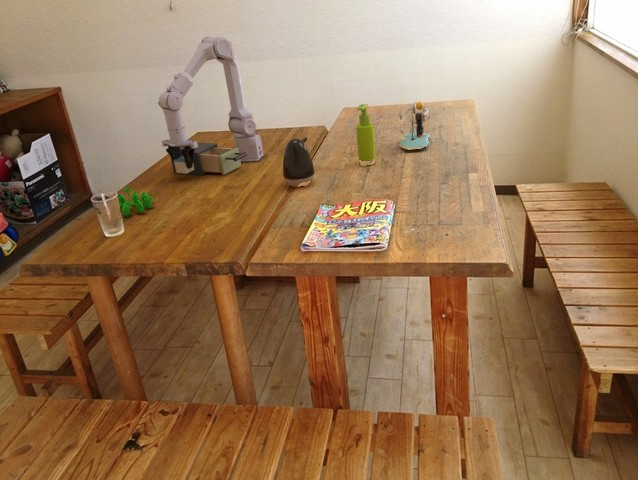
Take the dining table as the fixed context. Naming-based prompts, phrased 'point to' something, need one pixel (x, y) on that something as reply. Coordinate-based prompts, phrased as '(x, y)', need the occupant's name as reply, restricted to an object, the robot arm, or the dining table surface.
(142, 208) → the green lumpy piece
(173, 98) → the robot arm
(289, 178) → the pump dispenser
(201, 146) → the cabinet
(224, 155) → the drawer
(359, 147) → the soap dispenser
